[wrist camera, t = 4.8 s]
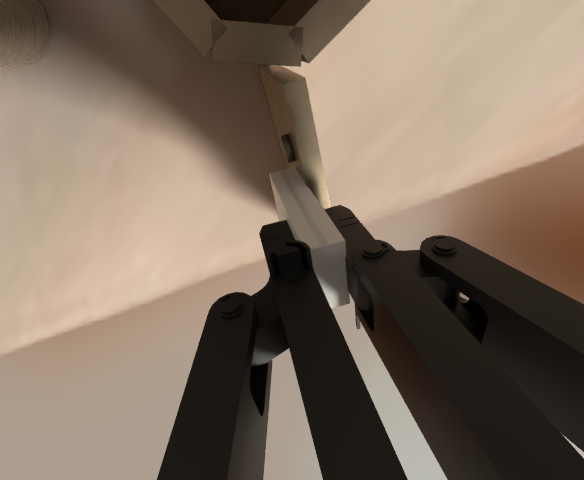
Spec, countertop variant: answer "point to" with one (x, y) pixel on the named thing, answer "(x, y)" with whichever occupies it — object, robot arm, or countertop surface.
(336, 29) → the knuckle and fixed leaf
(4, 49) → the hinge pin
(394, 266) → the robot arm
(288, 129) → the loose leaf
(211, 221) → the countertop surface
